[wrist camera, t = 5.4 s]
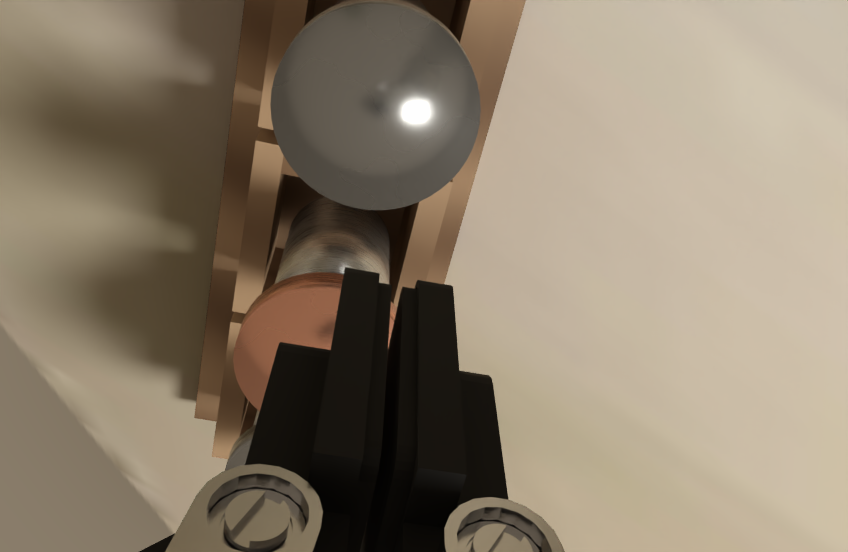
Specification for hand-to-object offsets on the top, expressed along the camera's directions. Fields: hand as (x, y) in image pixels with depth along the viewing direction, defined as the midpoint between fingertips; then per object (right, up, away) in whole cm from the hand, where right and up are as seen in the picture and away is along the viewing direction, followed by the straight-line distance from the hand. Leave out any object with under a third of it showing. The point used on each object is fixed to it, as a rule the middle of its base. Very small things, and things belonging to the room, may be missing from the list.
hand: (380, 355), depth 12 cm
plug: (-1, +9, +13) cm, 16 cm away
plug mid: (-3, +3, +17) cm, 17 cm away
